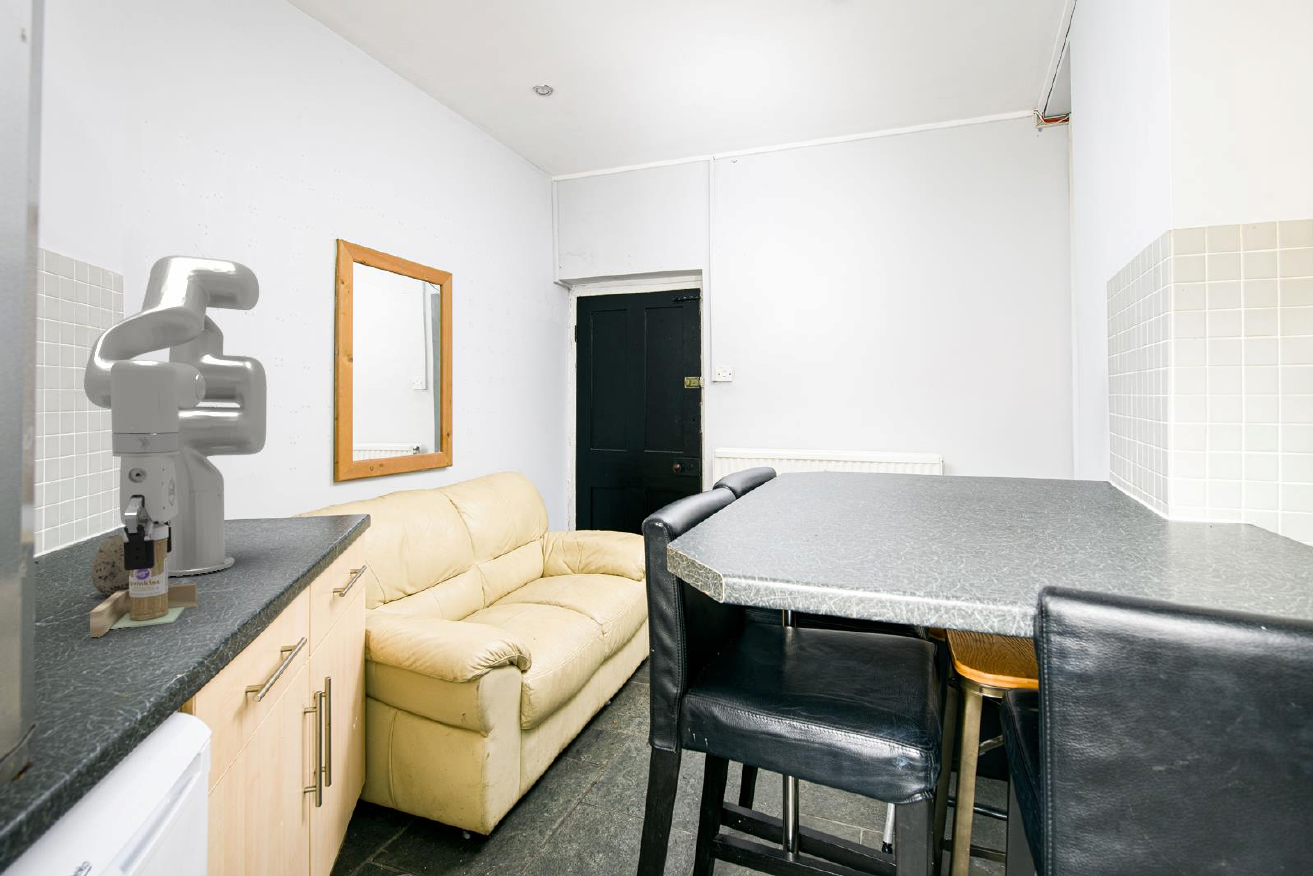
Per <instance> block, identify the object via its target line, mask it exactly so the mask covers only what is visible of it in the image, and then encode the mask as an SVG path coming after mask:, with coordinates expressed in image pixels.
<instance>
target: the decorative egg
mask: <svg viewBox="0 0 1313 876" xmlns="http://www.w3.org/2000/svg"><path fill="white" fill-rule="evenodd" d="M90 575H91V581H92V584H93V586H94V588H95V589H96V590H97V591H99V592H100V593H102V594H104V595H106V596H112V595H113V594H114V593H115V592H117V591H118V590H128V589H129V575H130V570H125V568H124V536H122V535H119V534H117V535H116V534H114V535H110V536H109V537H107V538H106V539H105V540H103V542H102V543H101V544H100V546H99V547H98V549H97V551H96V554H95V556H94V558H93V562H92V566H91V574H90Z"/></svg>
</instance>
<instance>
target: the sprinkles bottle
mask: <svg viewBox="0 0 1313 876" xmlns="http://www.w3.org/2000/svg"><path fill="white" fill-rule="evenodd" d="M145 529H146V527H144V531H145ZM167 537H168V525H166V524H153V530H152V535H151V540H154V562H155V565H154V567H153V568H150V569H139V570H130V575H129V596H130V615H129V617H130V618H131V619H133V620H148V619H154V618H158V617H161V616H164V615H166V614H167V613H168V612H169V609H168V586H169V577H168V557H167Z"/></svg>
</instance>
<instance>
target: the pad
mask: <svg viewBox="0 0 1313 876" xmlns="http://www.w3.org/2000/svg"><path fill="white" fill-rule="evenodd" d="M185 609H186V608H185V607H179V608H170V609H169V612H168V613H167V614H166V615H164V616H161V617H158V618H154V619H148V620H133V619H131V618H130V617H129V615H130V613H126V614H125V615H124V616H123V617H122V618H121V619H119V620H118V621H117V622H116V623H115V624H114V625H113V626H112V627H111V628H110V629H114V630H119V629H118V628H122V629H124V628H123V627H131V628H137V627H138V628H139V627H146V626H154V625H163V624H171V623H172V624H173V623H174V622H175V621H176V620H177V619H178V618H179V616H180V615H181V614H182V612H183V611H184V610H185Z"/></svg>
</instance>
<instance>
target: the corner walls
mask: <svg viewBox="0 0 1313 876" xmlns="http://www.w3.org/2000/svg"><path fill="white" fill-rule="evenodd" d="M197 605H198V583H197V582H195V583H193V582H192V583H184V584H183V583H182V584H172V585H168V609H170V608H179V607H185V609H190V608H196V607H197ZM126 613H130V596H129V589H128V590H118V591H117V592H115V593H114V594H113V595H109V597H108V598H107V599H105V600H104V601H103V602H101V603H100V604H99V605H97V606H96V607H95V608H94V609H93V610H91V611H89V638H90V637H98V636H102V637H103V635H104V634H105V633H106V632H107V633H108V632H109V631H110V630H109V629H110V628H111V627H112V626H113V625H114V624H115V623H116V622H117V621H118V620H119V619H121V618H122V617H123V616H124V615H125V614H126ZM107 633H106V634H107ZM106 634H105V635H106ZM105 635H104V636H105ZM98 638H99V637H98Z"/></svg>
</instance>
